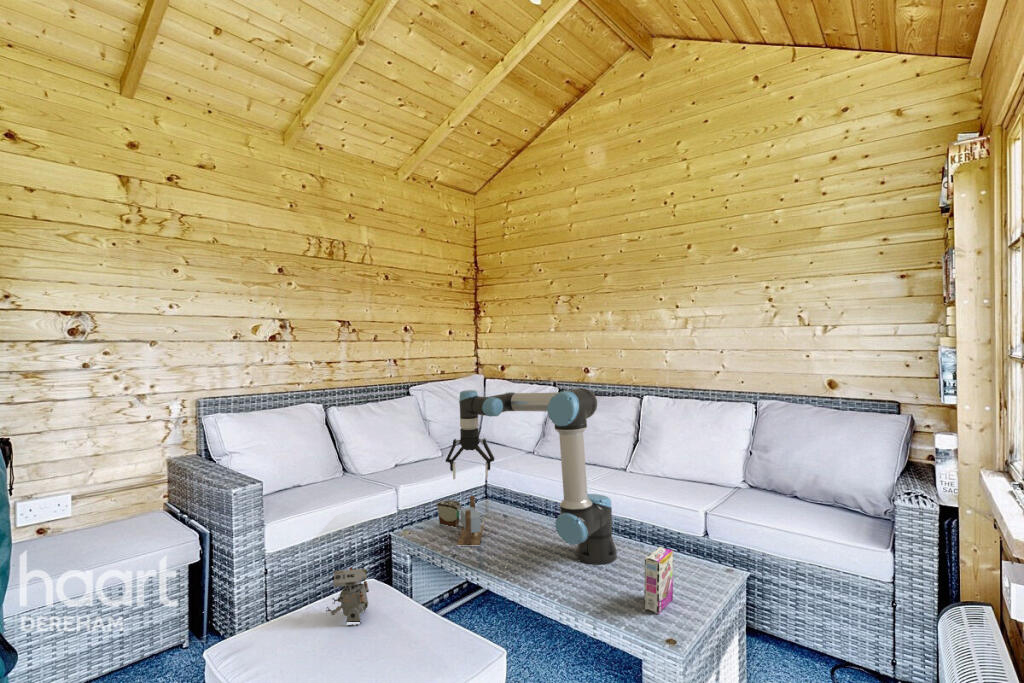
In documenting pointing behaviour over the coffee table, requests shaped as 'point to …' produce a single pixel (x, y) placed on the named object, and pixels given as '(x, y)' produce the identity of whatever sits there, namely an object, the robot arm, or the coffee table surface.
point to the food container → (449, 512)
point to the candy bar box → (658, 579)
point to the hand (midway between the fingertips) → (470, 478)
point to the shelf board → (472, 519)
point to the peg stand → (469, 529)
